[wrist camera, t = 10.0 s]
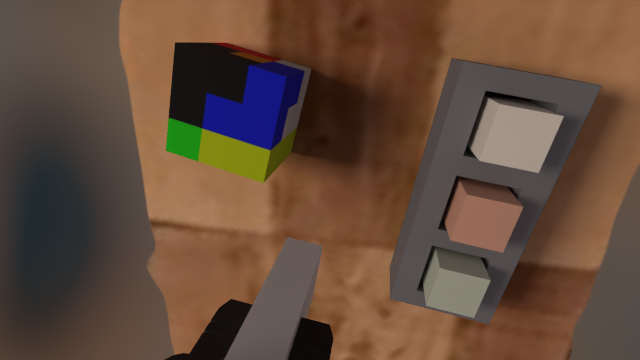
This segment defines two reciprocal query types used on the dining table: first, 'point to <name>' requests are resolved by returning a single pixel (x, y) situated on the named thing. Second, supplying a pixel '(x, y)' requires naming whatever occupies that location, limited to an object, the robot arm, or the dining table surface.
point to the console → (482, 174)
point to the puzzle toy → (234, 107)
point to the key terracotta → (481, 213)
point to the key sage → (454, 281)
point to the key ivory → (513, 133)
